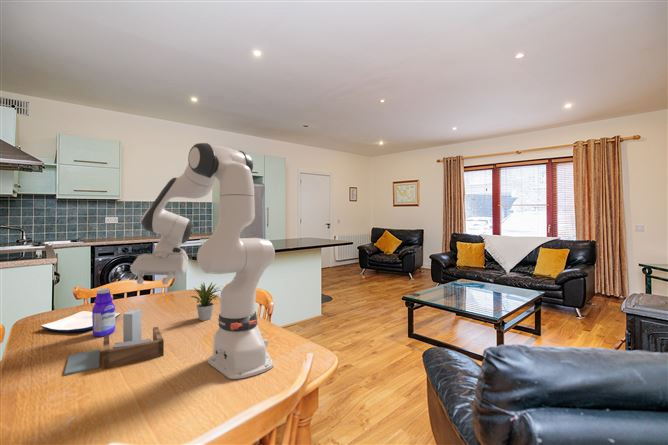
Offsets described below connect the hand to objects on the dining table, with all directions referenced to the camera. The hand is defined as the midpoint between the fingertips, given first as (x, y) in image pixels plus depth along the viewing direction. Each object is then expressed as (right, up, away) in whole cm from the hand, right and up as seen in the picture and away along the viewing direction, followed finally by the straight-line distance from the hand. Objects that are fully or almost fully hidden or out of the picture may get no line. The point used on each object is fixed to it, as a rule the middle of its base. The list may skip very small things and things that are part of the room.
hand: (151, 283), depth 118 cm
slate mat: (-9, -21, -21) cm, 31 cm away
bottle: (-19, -20, +2) cm, 28 cm away
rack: (+1, -21, -13) cm, 24 cm away
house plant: (+12, -20, +20) cm, 31 cm away
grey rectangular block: (0, -21, -11) cm, 23 cm away
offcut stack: (+4, -21, -16) cm, 27 cm away
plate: (-35, -20, +11) cm, 42 cm away
